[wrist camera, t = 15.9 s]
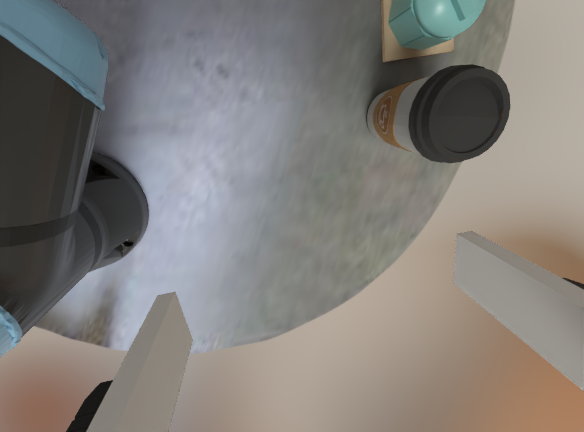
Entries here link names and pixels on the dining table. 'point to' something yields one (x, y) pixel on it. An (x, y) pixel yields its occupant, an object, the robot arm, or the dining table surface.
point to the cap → (431, 20)
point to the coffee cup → (443, 113)
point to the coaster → (397, 52)
